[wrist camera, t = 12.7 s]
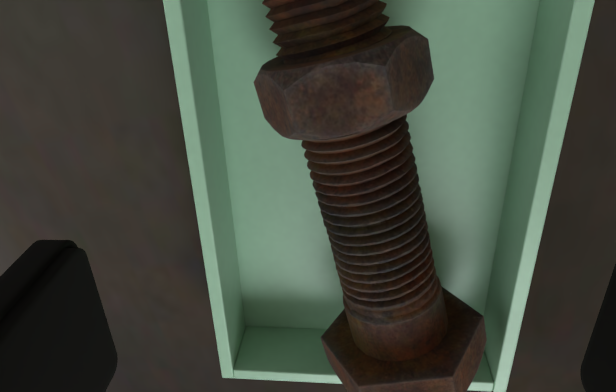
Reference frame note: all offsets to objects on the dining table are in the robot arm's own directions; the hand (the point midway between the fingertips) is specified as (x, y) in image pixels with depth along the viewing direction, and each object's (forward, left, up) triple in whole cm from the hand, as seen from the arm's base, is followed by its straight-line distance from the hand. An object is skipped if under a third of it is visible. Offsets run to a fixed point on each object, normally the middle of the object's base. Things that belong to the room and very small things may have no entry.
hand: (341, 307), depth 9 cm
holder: (+1, 0, -10) cm, 10 cm away
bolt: (+1, -1, -9) cm, 9 cm away
